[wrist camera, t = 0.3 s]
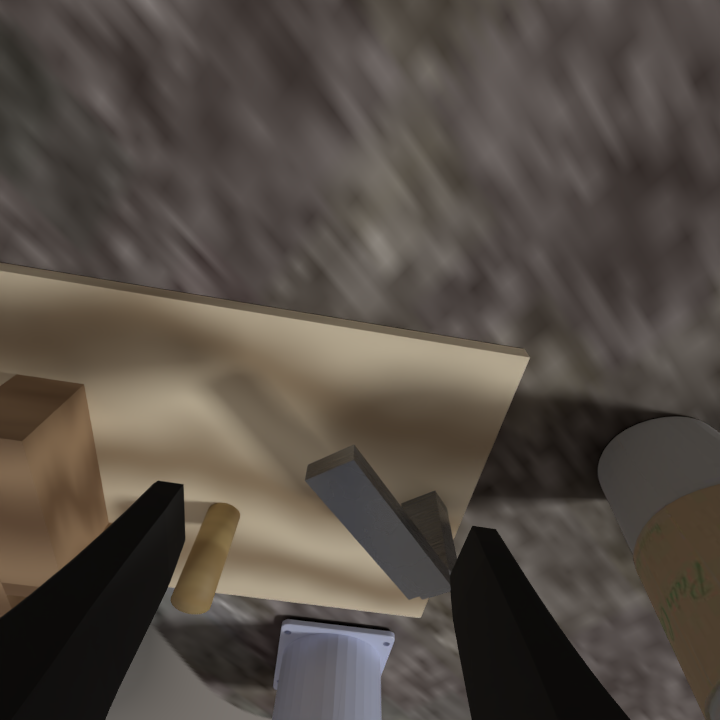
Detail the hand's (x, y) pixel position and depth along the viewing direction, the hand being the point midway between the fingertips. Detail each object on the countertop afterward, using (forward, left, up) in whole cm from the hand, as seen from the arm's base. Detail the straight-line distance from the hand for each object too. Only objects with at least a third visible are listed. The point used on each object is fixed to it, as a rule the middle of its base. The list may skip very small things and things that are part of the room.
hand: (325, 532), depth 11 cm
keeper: (-5, -2, -9) cm, 11 cm away
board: (-9, +5, -10) cm, 14 cm away
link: (-11, +13, -9) cm, 19 cm away
